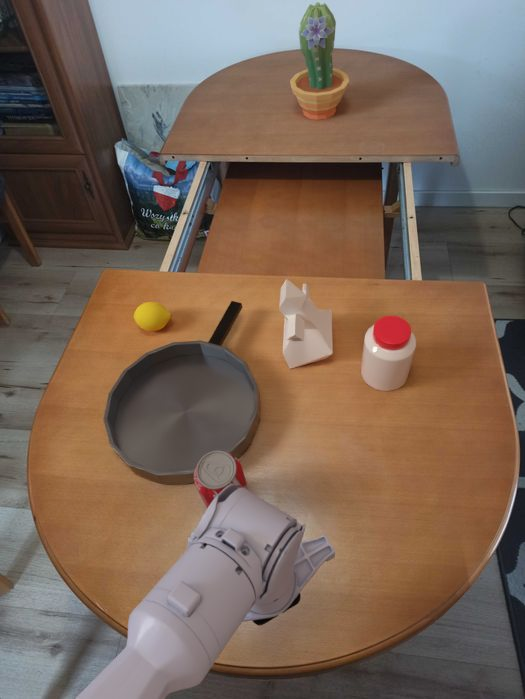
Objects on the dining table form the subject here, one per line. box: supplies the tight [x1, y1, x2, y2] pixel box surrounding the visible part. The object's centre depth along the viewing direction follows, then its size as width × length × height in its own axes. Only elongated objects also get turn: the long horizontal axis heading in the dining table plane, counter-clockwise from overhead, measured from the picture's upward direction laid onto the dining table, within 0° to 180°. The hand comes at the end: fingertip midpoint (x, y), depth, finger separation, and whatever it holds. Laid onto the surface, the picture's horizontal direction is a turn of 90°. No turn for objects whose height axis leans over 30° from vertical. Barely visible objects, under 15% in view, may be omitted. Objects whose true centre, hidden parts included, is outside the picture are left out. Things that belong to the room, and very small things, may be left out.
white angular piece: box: [278, 278, 334, 369], centre depth 82 cm, size 8×14×14 cm, turn 176°
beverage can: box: [194, 451, 249, 509], centre depth 66 cm, size 6×6×12 cm
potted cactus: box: [289, 1, 350, 121], centre depth 124 cm, size 15×15×25 cm
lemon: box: [133, 301, 172, 332], centre depth 90 cm, size 7×5×5 cm
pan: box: [102, 300, 261, 486], centre depth 81 cm, size 34×24×4 cm
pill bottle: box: [359, 315, 417, 392], centre depth 78 cm, size 8×8×11 cm
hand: (271, 599), depth 54 cm, fingers closed
